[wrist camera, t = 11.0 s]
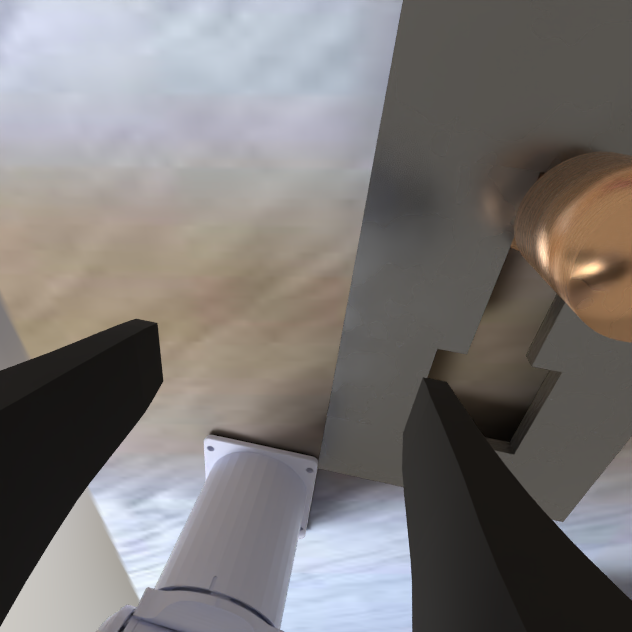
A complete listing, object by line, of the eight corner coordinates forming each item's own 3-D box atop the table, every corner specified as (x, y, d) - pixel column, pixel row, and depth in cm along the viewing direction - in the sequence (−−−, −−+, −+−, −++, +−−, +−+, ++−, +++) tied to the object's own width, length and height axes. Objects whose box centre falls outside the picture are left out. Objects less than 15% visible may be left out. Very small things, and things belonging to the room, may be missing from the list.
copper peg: (576, 251, 16) (720, 360, 9) (471, 241, 17) (533, 337, 10) (623, 140, 14) (859, 173, 7) (501, 132, 14) (608, 155, 7)
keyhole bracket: (545, 481, 23) (563, 521, 21) (323, 434, 24) (317, 468, 22) (844, 46, 12) (952, 32, 10) (403, -3, 13) (407, -26, 11)
